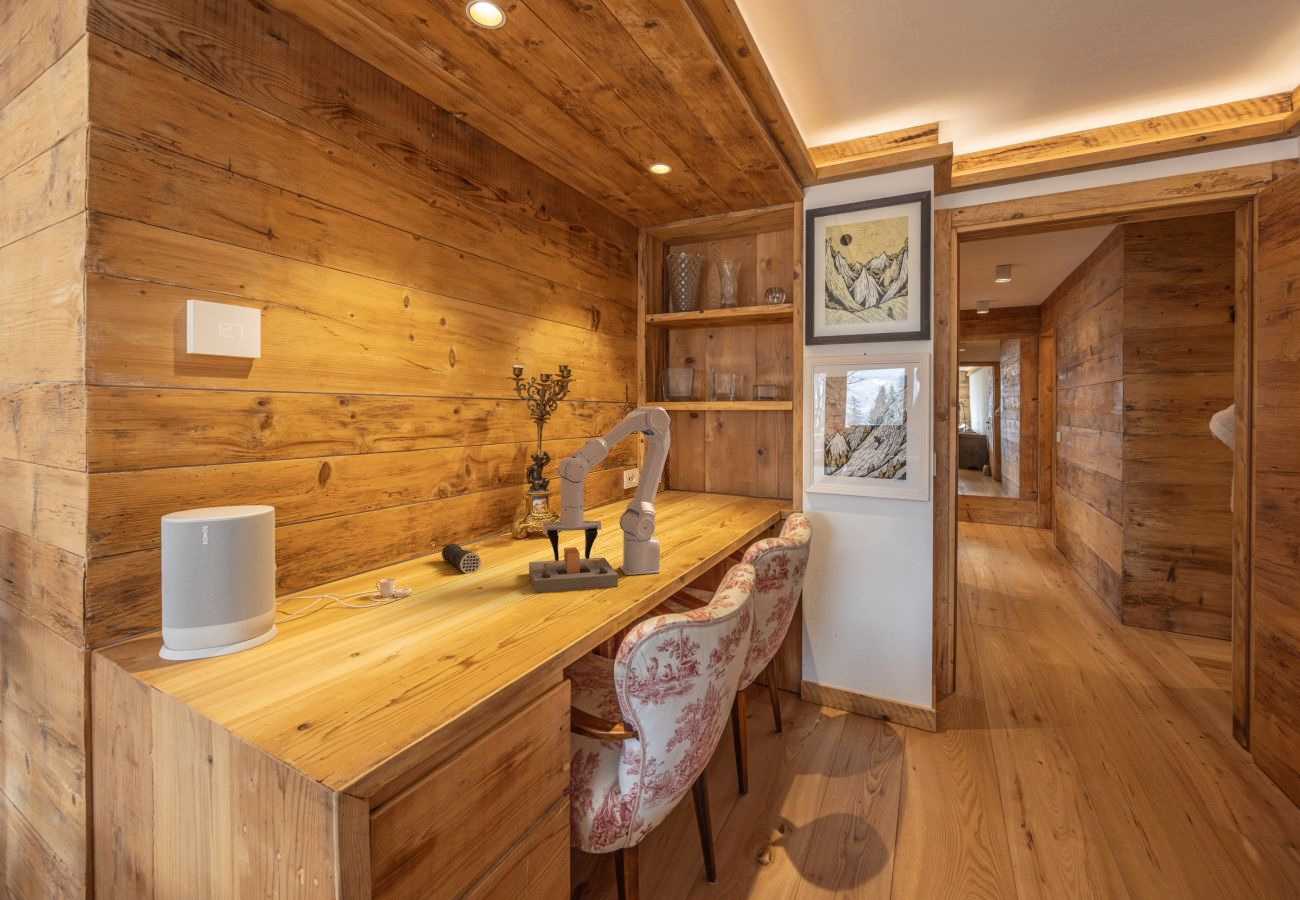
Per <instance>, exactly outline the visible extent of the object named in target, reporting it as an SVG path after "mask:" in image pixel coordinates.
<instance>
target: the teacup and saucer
mask: <svg viewBox="0 0 1300 900" xmlns="http://www.w3.org/2000/svg"><path fill="white" fill-rule="evenodd" d="M378 583H379V586H380V588H379V586H378ZM375 587H376V589H377V592H374V593H372V594H370V595H369V596H368V599H369V600H370V601H372V602H376V603H379V602H380V603H382V602H392V601H398V600H400V599H403V598H405V597H406V596H409V595H411V594H412V588H410V587H405V588H401V589H395V588H396V579H395V578H391V577H389V578H388V577H387V578H383V579H380V580H379V581H377V582H375ZM394 591H396V592H394ZM380 593H381V594H380ZM378 595H382V597H383V598H390V599H391V600H390V599H377V598H375V597H376V596H378ZM393 596H394V597H395V598H396V599H395V598H391V597H393Z"/></svg>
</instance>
